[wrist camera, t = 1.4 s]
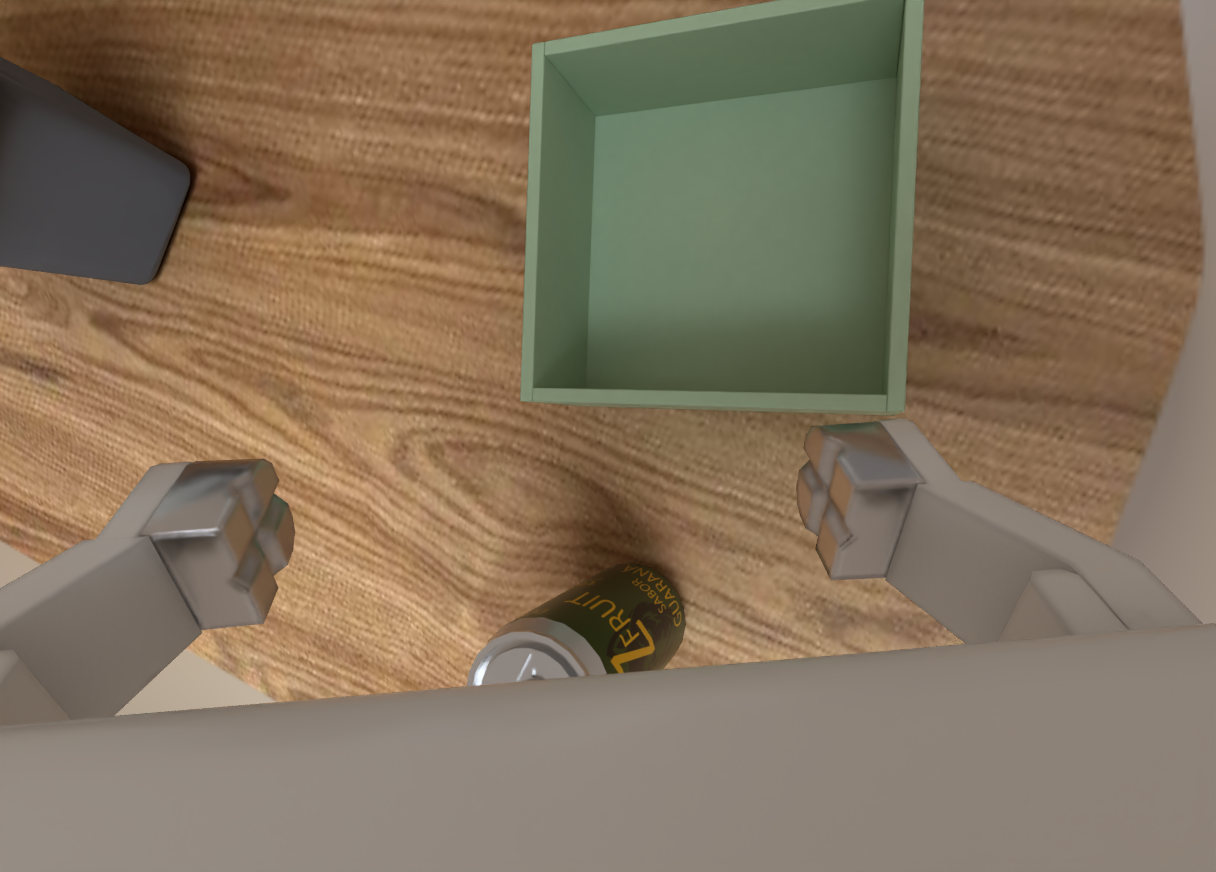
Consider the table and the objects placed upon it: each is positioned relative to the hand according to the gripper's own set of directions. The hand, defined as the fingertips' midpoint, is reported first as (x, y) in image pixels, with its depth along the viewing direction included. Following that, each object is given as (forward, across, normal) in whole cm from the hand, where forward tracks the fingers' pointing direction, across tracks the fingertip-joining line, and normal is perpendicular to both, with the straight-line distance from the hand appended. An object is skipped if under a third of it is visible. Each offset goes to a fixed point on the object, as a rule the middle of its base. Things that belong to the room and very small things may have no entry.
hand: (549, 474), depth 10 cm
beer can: (+14, -4, +21) cm, 25 cm away
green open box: (+23, -9, +5) cm, 25 cm away
